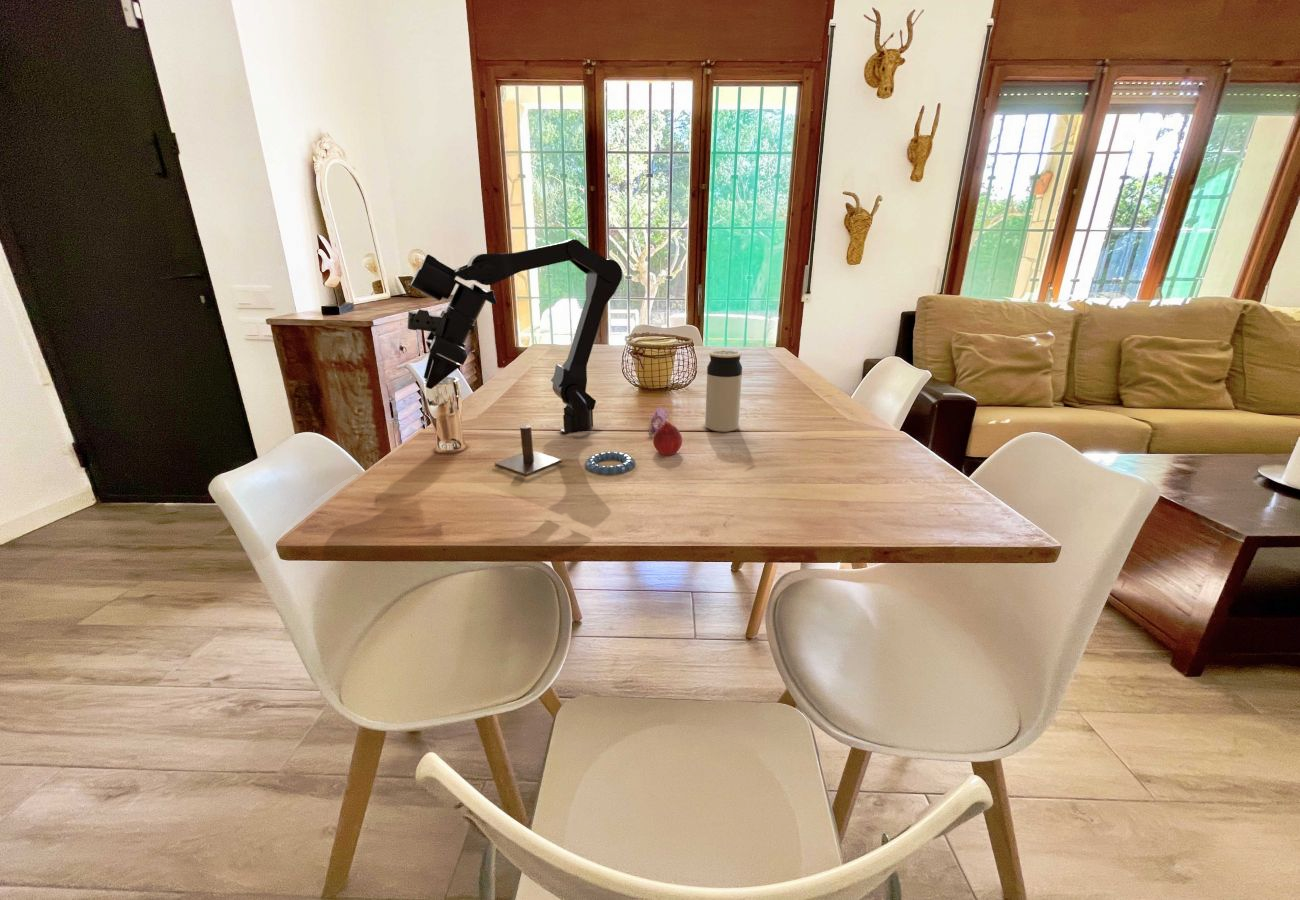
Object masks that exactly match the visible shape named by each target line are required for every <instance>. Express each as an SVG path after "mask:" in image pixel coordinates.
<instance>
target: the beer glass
mask: <svg viewBox="0 0 1300 900" xmlns="http://www.w3.org/2000/svg"><path fill="white" fill-rule="evenodd" d="M426 383H427V379H425V380H423V386H424V387H423V388H424V399H425V407H426V409H427V413H428V416H429V418H430V421H431V424H432V428H433V431H434V435H435V452H437V453H439V454H443V455H445V454H446V455H447V454H457V453H459V452H462V451H464V450H465V449H466V448H467V444H466V442H465V440H464V436H463V429H462V427H463V426H462V424H463V397H462V392H461V387H460V382H459V378H458V377H455V376H447V377H446V378H444V379H443V380H442V381H441V382H439V383H438V384H437V385H436V386H434V387H433V388H432V389H429V388H427V387H426Z"/></svg>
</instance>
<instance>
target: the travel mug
mask: <svg viewBox="0 0 1300 900" xmlns="http://www.w3.org/2000/svg"><path fill="white" fill-rule="evenodd" d="M708 355H709V358H710V361H709V362H708V364H707V367H706V390H705V391H706V392H705V394H706V395H705V419H704V421H705V422H704V427H705V428H707V429H708V430H710V431H713V432H718V433H728V432H733V431H736V430H737V429H739V425H740V410H741V395H742V375H743V374H742V373H743V366H742V364H741V361H740V360H741V356H743V353H742V352H741V351H738V350H734V349H733V350H732V349H715V350H711V351H708Z"/></svg>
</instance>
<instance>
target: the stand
mask: <svg viewBox="0 0 1300 900" xmlns="http://www.w3.org/2000/svg"><path fill="white" fill-rule="evenodd" d="M519 429H520V431H519V432H520V439H521V441H520V443H521V451H522V453H518V454H516V455H514V456H511V457H508V458H506V459H503V460H500V461H496V462H495V463H494V466H496V467H498V468H501V469H504V470H507V471H509V472H513V473H515V474H517V475H521V476H524V477H529V476H531V475H534V474H536V473H538V472H540V471H544V470H545V469H548V468H550V467H553V466H555V465H558V464H560V463H562V462H563V459H560V458H558V457H555V456H552V455H549V454H545V453H542V452H539V451H535V450H534V445H533V435H532V434H533V433H532V426H531V425H528V424H526V425H521V426H520V427H519Z"/></svg>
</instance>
